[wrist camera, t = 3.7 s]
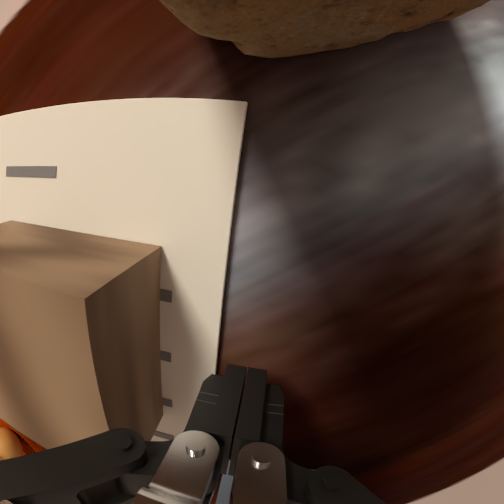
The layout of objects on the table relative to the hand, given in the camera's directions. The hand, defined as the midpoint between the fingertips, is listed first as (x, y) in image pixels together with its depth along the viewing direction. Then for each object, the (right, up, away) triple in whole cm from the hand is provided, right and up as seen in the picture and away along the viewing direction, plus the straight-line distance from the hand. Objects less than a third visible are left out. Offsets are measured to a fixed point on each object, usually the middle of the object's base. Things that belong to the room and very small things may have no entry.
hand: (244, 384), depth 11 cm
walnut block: (-8, +2, +2) cm, 8 cm away
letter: (-8, +2, +2) cm, 9 cm away
